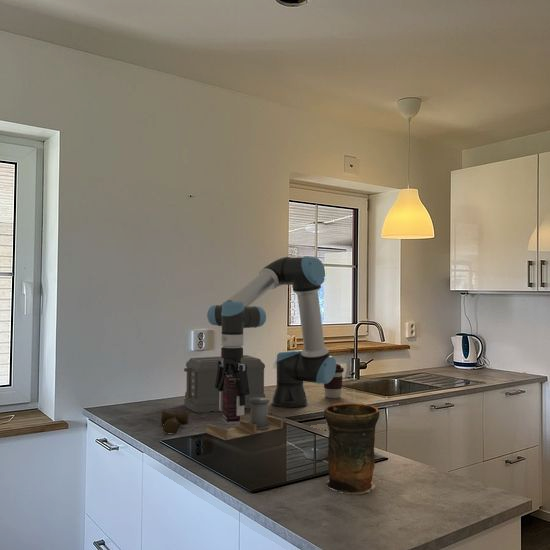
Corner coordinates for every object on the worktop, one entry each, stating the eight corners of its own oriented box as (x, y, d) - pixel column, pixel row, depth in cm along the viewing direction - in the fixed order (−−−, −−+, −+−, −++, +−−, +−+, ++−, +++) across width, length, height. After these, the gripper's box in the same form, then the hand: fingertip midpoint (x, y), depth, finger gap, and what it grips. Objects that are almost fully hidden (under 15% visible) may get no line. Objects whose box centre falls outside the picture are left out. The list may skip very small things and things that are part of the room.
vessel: (391, 484, 146) (390, 407, 146) (360, 500, 135) (359, 418, 135) (345, 471, 155) (344, 399, 155) (313, 486, 145) (312, 409, 145)
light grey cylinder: (260, 424, 204) (260, 396, 204) (273, 428, 198) (273, 399, 199) (244, 427, 199) (244, 399, 199) (257, 431, 194) (257, 402, 194)
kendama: (155, 436, 192) (163, 420, 212) (184, 437, 193) (189, 421, 213) (156, 419, 192) (164, 405, 212) (184, 419, 193) (190, 405, 213)
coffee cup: (343, 395, 264) (343, 363, 265) (343, 399, 255) (344, 366, 255) (322, 394, 265) (322, 362, 266) (321, 398, 256) (322, 365, 256)
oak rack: (263, 424, 207) (263, 413, 207) (282, 430, 199) (282, 419, 199) (206, 436, 191) (206, 424, 191) (225, 443, 183) (225, 430, 183)
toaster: (178, 405, 240) (178, 357, 240) (250, 399, 254) (251, 354, 255) (190, 414, 223) (191, 363, 224) (267, 407, 237) (268, 359, 238)
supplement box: (240, 424, 188) (241, 376, 188) (226, 424, 186) (227, 376, 187) (235, 418, 196) (236, 372, 196) (222, 418, 195) (222, 373, 195)
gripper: (205, 344, 198) (204, 408, 197) (242, 350, 181) (242, 420, 180) (222, 343, 202) (221, 405, 202) (261, 348, 186) (260, 416, 185)
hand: (231, 412), depth 191 cm, fingers closed on supplement box, 9 cm apart
